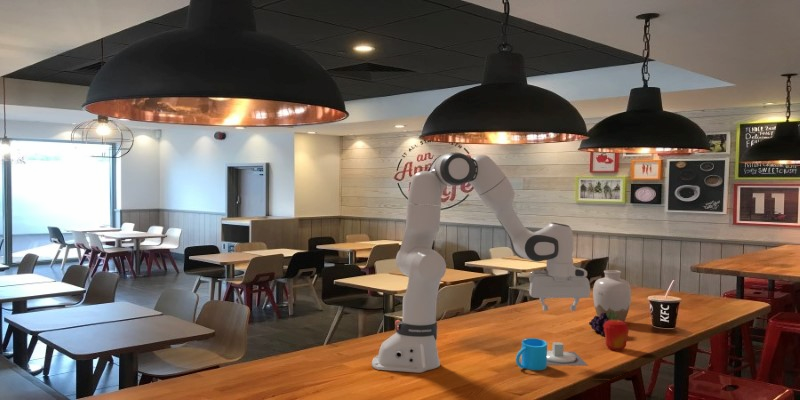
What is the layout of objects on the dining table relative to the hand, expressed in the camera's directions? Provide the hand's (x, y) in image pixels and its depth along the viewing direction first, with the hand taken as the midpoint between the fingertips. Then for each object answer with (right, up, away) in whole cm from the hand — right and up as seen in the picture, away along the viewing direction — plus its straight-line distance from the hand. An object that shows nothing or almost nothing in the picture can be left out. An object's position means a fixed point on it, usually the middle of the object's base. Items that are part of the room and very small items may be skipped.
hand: (559, 310), depth 210 cm
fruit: (+29, -17, +38) cm, 50 cm away
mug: (-12, -17, -11) cm, 24 cm away
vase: (+38, -16, +58) cm, 71 cm away
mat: (0, -17, 0) cm, 17 cm away
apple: (+25, -17, +15) cm, 34 cm away
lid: (0, -16, 0) cm, 16 cm away
